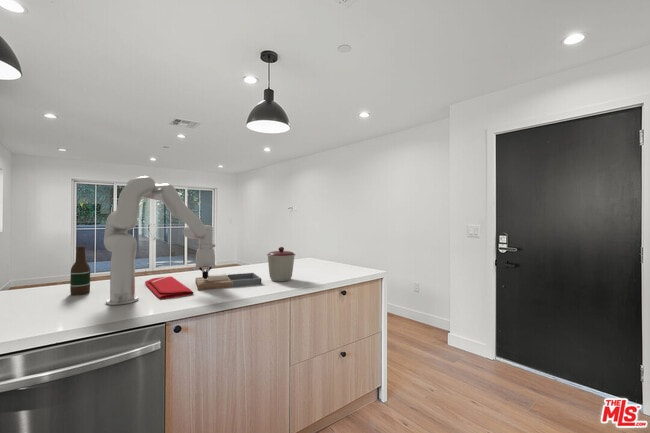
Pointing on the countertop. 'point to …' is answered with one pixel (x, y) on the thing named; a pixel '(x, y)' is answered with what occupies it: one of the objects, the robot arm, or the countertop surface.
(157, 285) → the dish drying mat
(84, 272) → the beer bottle
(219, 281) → the walnut board
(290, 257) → the canister
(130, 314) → the countertop surface
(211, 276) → the tile
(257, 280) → the tray
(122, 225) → the robot arm
